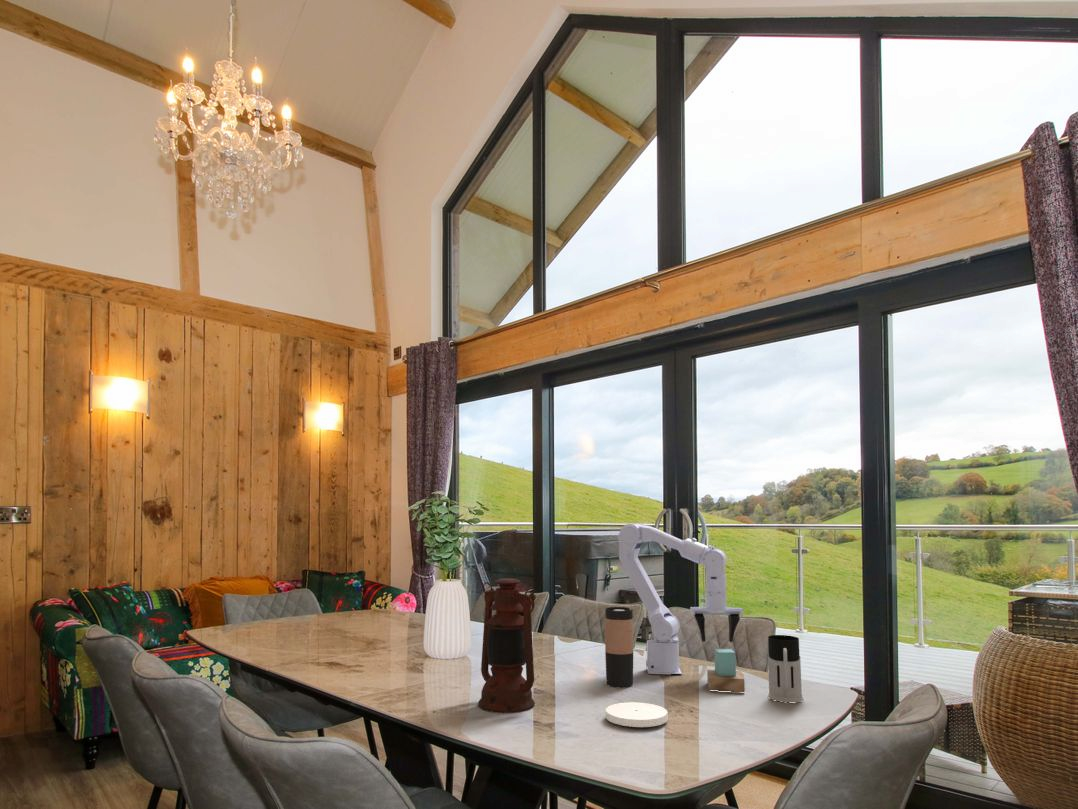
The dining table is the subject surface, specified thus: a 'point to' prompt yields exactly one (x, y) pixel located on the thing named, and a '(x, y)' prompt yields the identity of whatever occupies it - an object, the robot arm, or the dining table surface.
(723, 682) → the walnut base
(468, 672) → the dining table surface
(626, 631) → the travel mug
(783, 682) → the glass holder
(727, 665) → the teal block
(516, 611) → the lantern
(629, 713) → the plastic lid
